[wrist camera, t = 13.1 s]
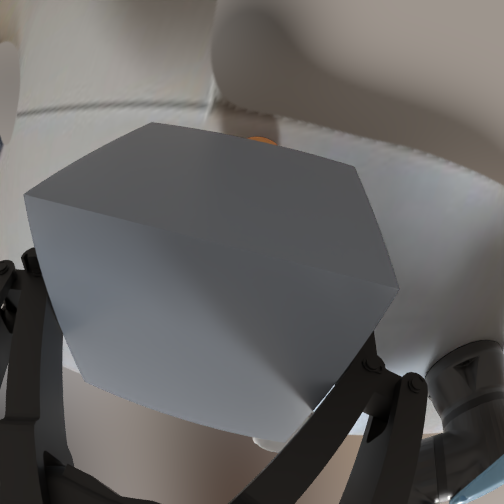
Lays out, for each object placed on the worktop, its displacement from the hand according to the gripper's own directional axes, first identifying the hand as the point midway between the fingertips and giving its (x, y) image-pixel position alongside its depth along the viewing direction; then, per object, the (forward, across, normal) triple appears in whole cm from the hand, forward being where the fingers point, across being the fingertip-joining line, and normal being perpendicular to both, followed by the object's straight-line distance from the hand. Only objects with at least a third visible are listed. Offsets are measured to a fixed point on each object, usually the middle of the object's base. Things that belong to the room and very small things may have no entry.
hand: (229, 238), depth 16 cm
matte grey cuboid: (+1, 0, 0) cm, 1 cm away
